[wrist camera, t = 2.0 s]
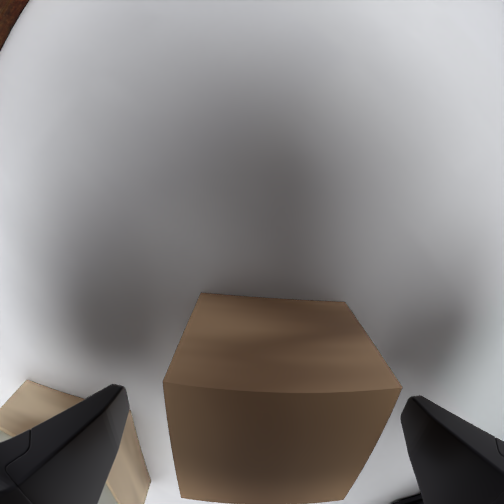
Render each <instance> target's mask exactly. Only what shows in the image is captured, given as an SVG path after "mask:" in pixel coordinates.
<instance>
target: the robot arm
mask: <svg viewBox="0 0 504 504" xmlns="http://www.w3.org/2000/svg"><path fill="white" fill-rule="evenodd" d="M128 413H129V402H128V397H127V392H126V389H125V387H124V386H121V385H116V384H111V385H109V386H107V387H106V388H104V389H102V390H100V391H99V392H97V393H95V394H93V395H92V396H90V397H88V398H86V399H84V400H83V401H81V402H79V403H77V404H75V405H74V406H72V407H70V408H68V409H66V410H64V411H63V412H61V413H59V414H57V415H55V416H53V417H51V418H50V419H48V420H46V421H44V422H42V423H40V424H38V425H36V426H34V427H32V428H31V430H30V429H28V430H26V431H25V432H23V433H21V434H18V435H16V436H14V437H12V438H10V439H8V440H5V441H3V442H0V504H98V501H99V499H100V496H101V493H102V491H103V488H104V486H105V483H106V480H107V478H108V475H109V473H110V470H111V468H112V465H113V463H114V460H115V458H116V455H117V453H118V450H119V446H120V443H121V439H122V435H123V431H124V428H125V424H126V420H127V417H128ZM401 424H402V428H403V432H404V437H405V441H406V446H407V450H408V454H409V458H410V461H411V464H412V467H413V470H414V473H415V476H416V479H417V482H418V485H419V489H420V492H421V495H418V496H415V497H411V498H408V499H404V500H400V501H397V502H395V503H393V504H504V441H502V440H500V439H498V438H495V437H494V436H492V435H491V434H489V433H487V432H485V431H483V430H481V429H480V428H478V427H476V426H474V425H472V424H470V423H469V422H467V421H465V420H463V419H461V418H460V417H458V416H456V415H454V414H453V413H451V412H449V411H447V410H445V409H444V408H442V407H440V406H438V405H437V404H435V403H433V402H432V401H430V400H428V399H426V398H425V397H423V396H421V395H418V396H412V397H410V398H409V399H408V401H407V403H406V405H405V407H404V409H403V412H402V414H401Z"/></svg>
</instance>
